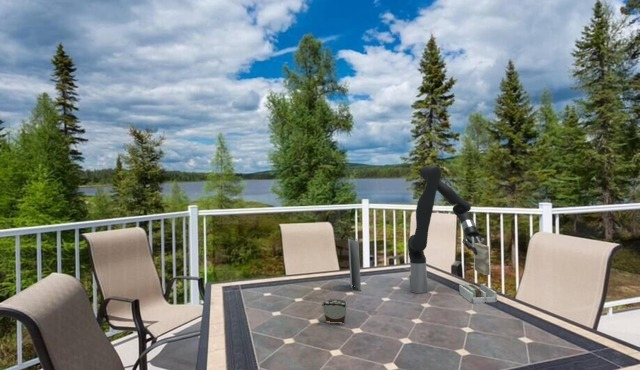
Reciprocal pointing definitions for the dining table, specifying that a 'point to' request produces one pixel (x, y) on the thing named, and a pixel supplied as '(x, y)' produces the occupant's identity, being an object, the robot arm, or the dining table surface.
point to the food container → (335, 310)
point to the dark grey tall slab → (354, 263)
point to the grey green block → (476, 291)
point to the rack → (483, 293)
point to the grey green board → (482, 259)
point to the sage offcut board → (471, 290)
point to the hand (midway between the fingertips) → (479, 254)
